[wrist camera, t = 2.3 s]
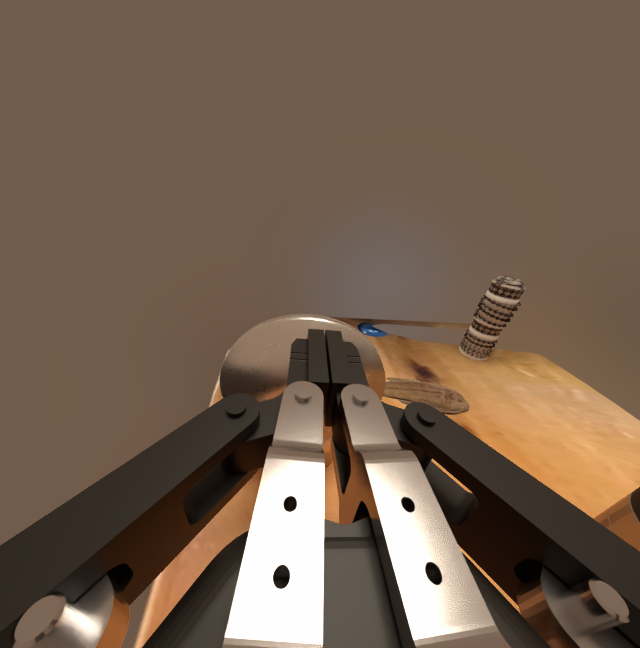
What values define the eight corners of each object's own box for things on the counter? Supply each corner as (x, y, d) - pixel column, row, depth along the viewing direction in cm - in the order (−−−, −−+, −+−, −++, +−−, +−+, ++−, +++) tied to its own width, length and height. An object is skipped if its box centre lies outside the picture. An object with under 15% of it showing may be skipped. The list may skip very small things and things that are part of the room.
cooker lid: (364, 435, 32) (374, 475, 28) (230, 431, 31) (216, 472, 26) (401, 321, 24) (423, 352, 19) (214, 306, 22) (190, 337, 17)
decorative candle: (490, 365, 71) (537, 288, 59) (457, 355, 75) (494, 279, 62) (486, 350, 79) (527, 279, 66) (456, 341, 82) (490, 271, 70)
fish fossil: (360, 401, 54) (361, 398, 53) (357, 374, 63) (358, 371, 63) (474, 416, 53) (476, 412, 53) (454, 386, 63) (456, 382, 62)
